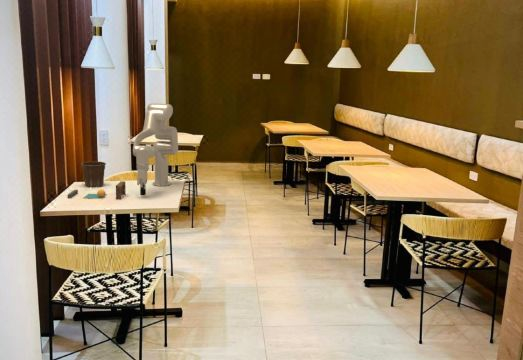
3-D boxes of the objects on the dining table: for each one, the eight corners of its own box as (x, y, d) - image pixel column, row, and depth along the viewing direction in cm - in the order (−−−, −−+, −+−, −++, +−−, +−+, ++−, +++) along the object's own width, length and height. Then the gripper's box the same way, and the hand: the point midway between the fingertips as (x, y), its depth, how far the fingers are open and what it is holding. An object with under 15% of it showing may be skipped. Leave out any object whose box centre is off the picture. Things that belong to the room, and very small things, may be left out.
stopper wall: (74, 193, 318) (74, 189, 318) (78, 193, 319) (77, 189, 318) (67, 198, 305) (67, 194, 304) (71, 198, 305) (70, 194, 304)
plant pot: (105, 188, 336) (104, 165, 333) (80, 188, 333) (79, 165, 330) (107, 183, 352) (107, 161, 349) (83, 183, 349) (83, 161, 345)
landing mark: (88, 194, 318) (88, 193, 318) (107, 194, 319) (107, 194, 319) (83, 198, 306) (83, 197, 306) (102, 198, 307) (102, 198, 307)
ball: (97, 189, 312) (105, 188, 313) (98, 197, 313) (106, 196, 313) (95, 190, 307) (103, 189, 308) (96, 198, 308) (105, 197, 308)
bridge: (115, 199, 307) (115, 185, 305) (120, 194, 320) (120, 181, 319) (120, 199, 307) (120, 185, 305) (125, 194, 321) (125, 181, 319)
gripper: (138, 164, 318) (139, 192, 321) (134, 168, 303) (134, 197, 307) (150, 165, 318) (150, 192, 322) (146, 169, 304) (146, 197, 307)
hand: (143, 195), depth 314 cm, fingers closed
